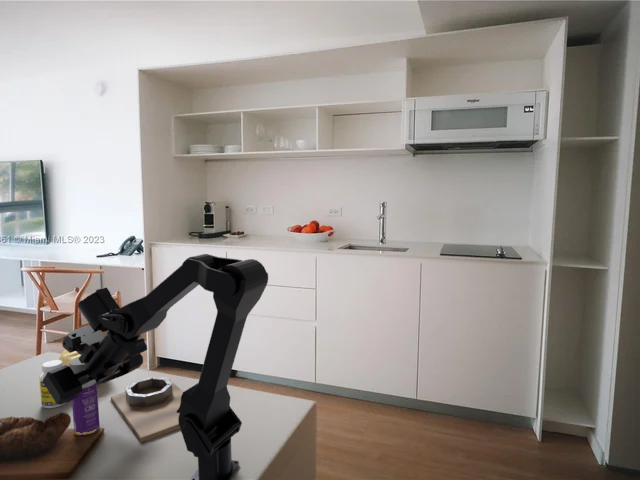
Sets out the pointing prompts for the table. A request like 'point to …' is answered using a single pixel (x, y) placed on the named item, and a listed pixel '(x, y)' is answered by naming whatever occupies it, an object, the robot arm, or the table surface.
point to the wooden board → (150, 414)
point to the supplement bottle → (45, 395)
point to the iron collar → (151, 398)
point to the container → (85, 403)
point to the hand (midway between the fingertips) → (79, 391)
